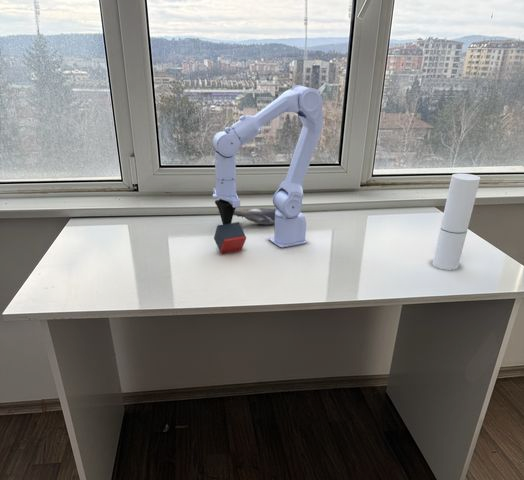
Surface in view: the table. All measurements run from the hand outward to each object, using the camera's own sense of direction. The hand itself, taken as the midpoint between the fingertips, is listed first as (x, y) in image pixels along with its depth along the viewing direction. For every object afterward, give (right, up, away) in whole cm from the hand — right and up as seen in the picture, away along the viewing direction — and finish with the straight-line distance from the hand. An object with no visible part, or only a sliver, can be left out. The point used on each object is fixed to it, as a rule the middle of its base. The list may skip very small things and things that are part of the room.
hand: (226, 224), depth 148 cm
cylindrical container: (+64, -13, -3) cm, 65 cm away
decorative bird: (+8, +6, +24) cm, 26 cm away
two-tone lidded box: (0, -1, +1) cm, 2 cm away
